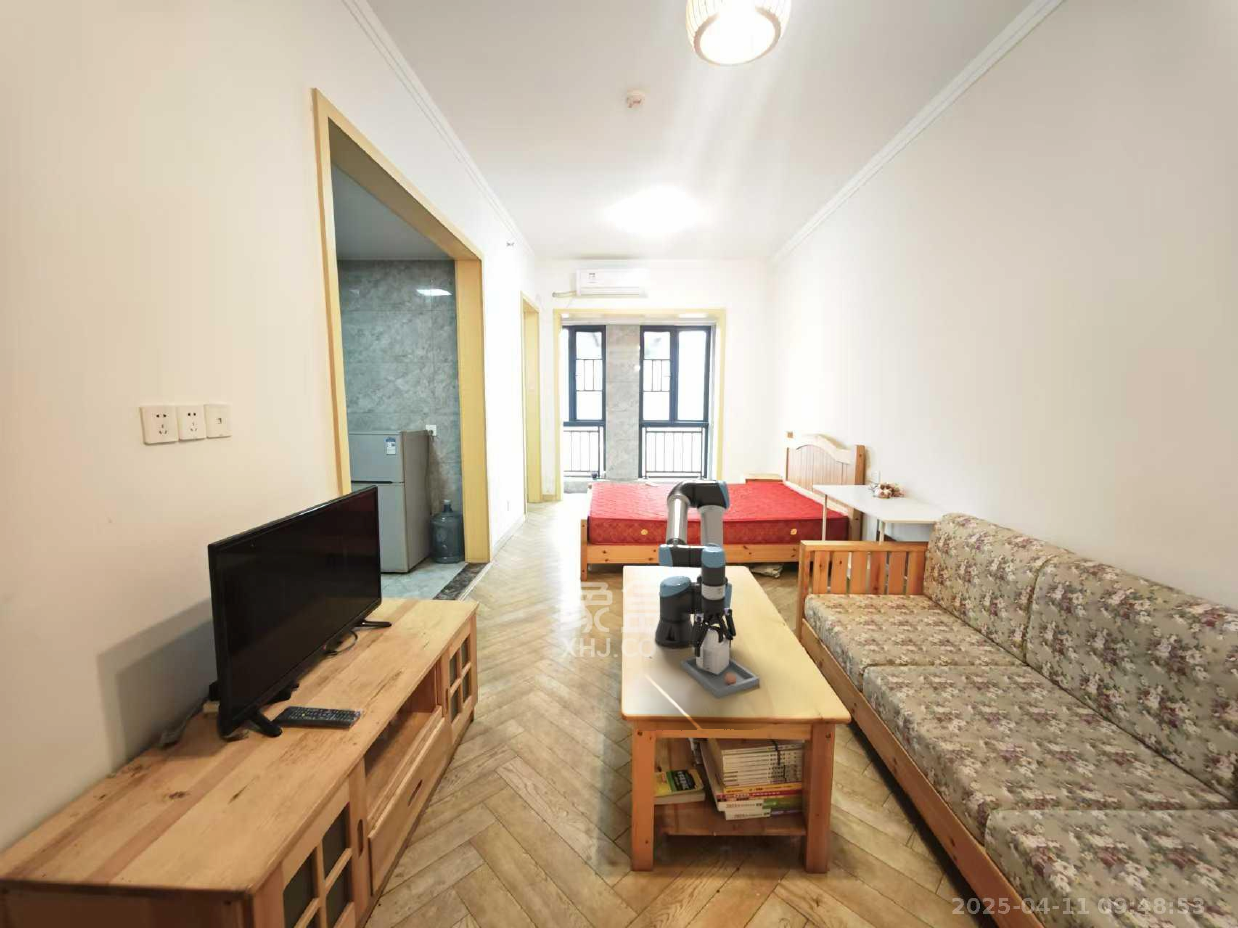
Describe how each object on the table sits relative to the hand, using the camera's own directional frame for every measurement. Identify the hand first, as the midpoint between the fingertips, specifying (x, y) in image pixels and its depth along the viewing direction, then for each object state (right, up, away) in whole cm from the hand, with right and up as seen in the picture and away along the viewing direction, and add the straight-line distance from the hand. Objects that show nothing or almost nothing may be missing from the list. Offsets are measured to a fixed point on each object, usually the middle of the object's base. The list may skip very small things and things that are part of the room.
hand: (712, 661), depth 156 cm
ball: (+4, -4, -8) cm, 10 cm away
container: (0, -2, 0) cm, 2 cm away
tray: (+1, -4, -2) cm, 5 cm away
